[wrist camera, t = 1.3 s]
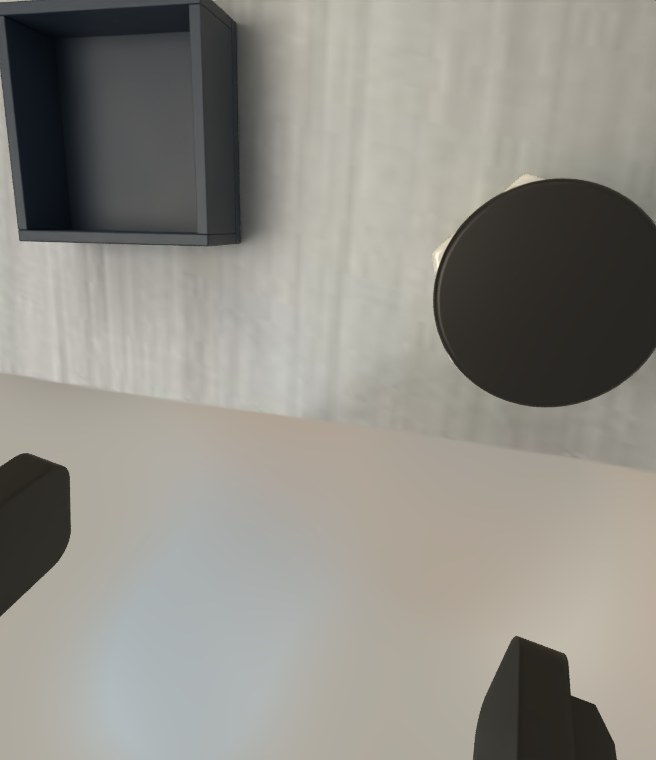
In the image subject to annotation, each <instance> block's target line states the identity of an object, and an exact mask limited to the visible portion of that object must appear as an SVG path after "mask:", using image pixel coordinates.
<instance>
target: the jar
mask: <svg viewBox="0 0 656 760" xmlns="http://www.w3.org/2000/svg"><path fill="white" fill-rule="evenodd" d="M432 259H433V265H434V271H435V277H436V278H435V284H434V293H433V308H434V316H435V322H436V326H437V330H438V333H439V336H440V339H441V341H442V343H443V346H444V348H445V349H446V351H447V353H448V358H449V360H450V361H452V362H454V364H455V365H456V366H457V367H458V368H459V370H460V371H461V372H462V373H463V374H464V375H465V376H466V377H467V378H468V379H470V380H471V381H472V382H473V383H474V384H476V385H477V386H479V387H480V388H481V389H483V390H485V391H486V392H488V393H490V394H492V395H494V396H496V397H498V398H501V399H503V400H506V401H509V402H512V403H516V404H520V405H526V406H532V407H560V406H568V405H573V404H578V403H581V402H584V401H588V400H590V399H593V398H596V397H598V396H600V395H602V394H604V393H606V392H608V391H610V390H612V389H614V388H615V387H617V386H619V385H620V384H621V383H623V382H624V381H625V380H627V379H628V378H629V377H631V376H632V375H633V374H634V373H635V372H636V371H637V370H638V369H639V368H640V367H641V366H642V365H643V364H644V363H645V362H646V361H647V359H648V358H649V357H650V356H651V354H652V353H653V352H654V350H655V348H656V225H655V224H654V222H653V221H652V220H651V219H650V217H649V216H648V215H647V214H646V213H645V212H644V211H643V210H642V209H641V208H640V207H639V206H637V205H636V204H635V203H634V202H633V201H631V200H630V199H628V198H627V197H625V196H624V195H622V194H620V193H619V192H617V191H615V190H612V189H610V188H608V187H605V186H603V185H600V184H597V183H593V182H589V181H584V180H578V179H543V178H539V177H536V176H533V175H530V174H524V175H522V176H521V177H520V178H518V179H517V180H516V181H515V182H514V183H512V184H511V185H510V186H509V187H508V188H506V189H505V190H504V191H503V192H502V193H500V194H499V195H497V196H496V197H494V198H492V199H491V200H489V201H488V202H486V203H485V204H483V205H482V206H481V207H480V208H478V209H477V210H476V211H475V212H474V213H473V214H472V215H471V216H469V217H468V218H467V220H466V221H465V222H464V223H463V224H462V225H461V226H460V228H459V229H458V230H457V231H456V232H455V233H454V234H452V235H451V236H450V237H449V238H448V239H446V240H445V241H444V242H443V243H442V244H441V245H440V246H438V247H437V248H436V249H435V250H434V251H433V253H432Z"/></svg>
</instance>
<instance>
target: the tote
mask: <svg viewBox="0 0 656 760" xmlns="http://www.w3.org/2000/svg"><path fill="white" fill-rule="evenodd" d="M0 71H1V80H2V89H3V98H4V107H5V116H6V125H7V134H8V143H9V152H10V161H11V169H12V178H13V187H14V196H15V205H16V214H17V223H18V229H19V231H18V232H19V240H20V241H36V242H72V243H108V244H144V245H180V246H217V245H229V244H239V243H240V194H239V142H238V90H237V39H236V22H235V21H234V20H233V19H232V18H231V17H230V16H229V15H227V14H226V13H225V12H224V11H223V10H222V9H221V8H220V7H219V6H217V5H216V4H215V3H214V2H213V1H212V0H31V1H16V2H1V3H0Z"/></svg>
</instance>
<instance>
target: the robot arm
mask: <svg viewBox="0 0 656 760" xmlns="http://www.w3.org/2000/svg"><path fill="white" fill-rule="evenodd" d="M70 533H71V522H70V476H69V472H68V470H67V468H66V467H64V466H62V465H59V464H56V463H53V462H51V461H48V460H45V459H43V458H40V457H37V456H35V455H32V454H29V453H24V454H20V455H18V456H16V457H14V458H13V459H11V460H10V461H8V462H7V463H5V464H4V465H2V466H1V467H0V616H1V615H2V614H3V613H5V612H6V611H7V610H8V609H9V608H10V607H11V606H12V605H13V604H14V603H15V602H16V601H17V600H18V599H19V598H20V597H21V596H22V595H23V594H24V593H26V592H27V591H28V590H29V589H30V588H31V587H32V586H33V585H34V584H35V583H36V582H37V581H38V580H39V579H40V578H41V577H43V576H44V575H45V574H46V573H47V572H48V571H49V570H50V569H51V568H52V567H53V566H54V565H55V564H56V563H57V562H58V561H59V559H60V558H61V556H62V554H63V553H64V551H65V549H66V547H67V544H68V542H69V538H70ZM473 760H617V759H616V751H615V744H614V742H613V740H612V738H611V736H610V734H609V732H608V730H607V727H606V726H605V723H604V722H603V719H602V718H601V715H600V713H599V711H598V710H597V707H596V705H594V704H592V703H589V702H587V701H584V700H581V699H579V698H576V697H573V696H571V693H570V679H569V666H568V660H567V657H566V655H565V654H564V653H561V652H558V651H556V650H553V649H551V648H548V647H545V646H542V645H540V644H537V643H534V642H532V641H529V640H526V639H524V638H521V637H518V636H515V637H514V638H513V639H512V641H511V643H510V645H509V647H508V649H507V651H506V653H505V655H504V658H503V660H502V662H501V664H500V666H499V668H498V670H497V672H496V675H495V677H494V679H493V681H492V683H491V685H490V688H489V690H488V692H487V694H486V696H485V699H484V701H483V704H482V707H481V711H480V714H479V719H478V723H477V729H476V734H475V743H474V754H473Z"/></svg>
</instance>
